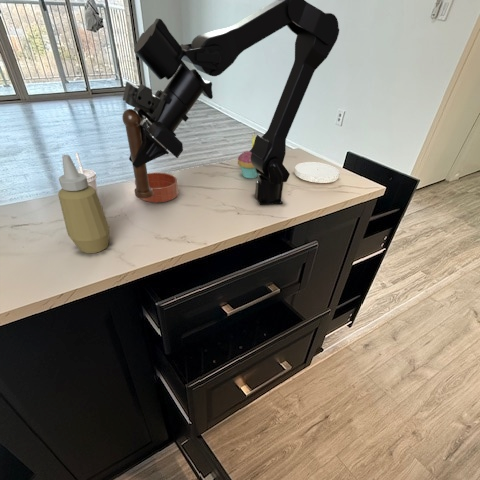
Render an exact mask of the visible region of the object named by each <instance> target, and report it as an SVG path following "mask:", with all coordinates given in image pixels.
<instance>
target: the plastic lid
mask: <svg viewBox="0 0 480 480" xmlns="http://www.w3.org/2000/svg"><path fill="white" fill-rule="evenodd" d="M294 175H295V176H296V177H297V178H299V179H301V180H303V181H306V182H310V183H316V184H317V183H318V184H328V183H333V182H336V181H338V179H339V177H340V170H339V169H338V168H337V167H335V166H333V165H331V164H328V163H325V162H324V163H323V162H318V161H317V162H316V161H305V162H300V163H297V164H296V165H295V167H294Z"/></svg>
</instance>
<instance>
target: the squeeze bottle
mask: <svg viewBox="0 0 480 480" xmlns="http://www.w3.org/2000/svg"><path fill="white" fill-rule="evenodd" d="M61 159H62V168H63V174H62V175H61V176H59V177H58V183H59V185H60V187H61V188H60V189H59V191H58V193H57V196H58V200H59V204H60V208H61V213H62V216H63V220H64V225H65V229H66V234H67V236H68V237H69V239H71V241H72V242H73V243H74V244H75V246H76V247H77V248H78V249H79V251H80V252H81V253H85V254H96V253H99V252H103V251H104V250H106V249H107V248H108V246H109V238H110V232H111V231H110V225H109V222H108V219H107V217H106V215H105V211H104V209H103V206H102V204H101V201H100V199H99V195H98V196H97V193H96V190H95V189H94V188H93V187H91V186H90V185H88V181H87V177H86V176H85V175H84V174H81V173H78V171H77V169H78V168H77V166H76V165H75V163H74V161H73V159H72V158H71V156H70V155H69V154H63V155H62V156H61Z"/></svg>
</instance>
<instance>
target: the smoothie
mask: <svg viewBox="0 0 480 480" xmlns="http://www.w3.org/2000/svg"><path fill="white" fill-rule="evenodd" d="M74 154H75V157H76V160H77V164H78V167H79V168H76V169H77V171H78V173H81V174H84V175H85V176H86V177H87V181H88V185H90V186H91V187H93V188H94V189H95V190H96V193H97V196H98V197H99V193H98V186H97V173H96V171H94V170H93V169H89V168H83V166H82V162H81V161H82V160H81V158H80V155H79V152H75V153H74Z"/></svg>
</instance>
